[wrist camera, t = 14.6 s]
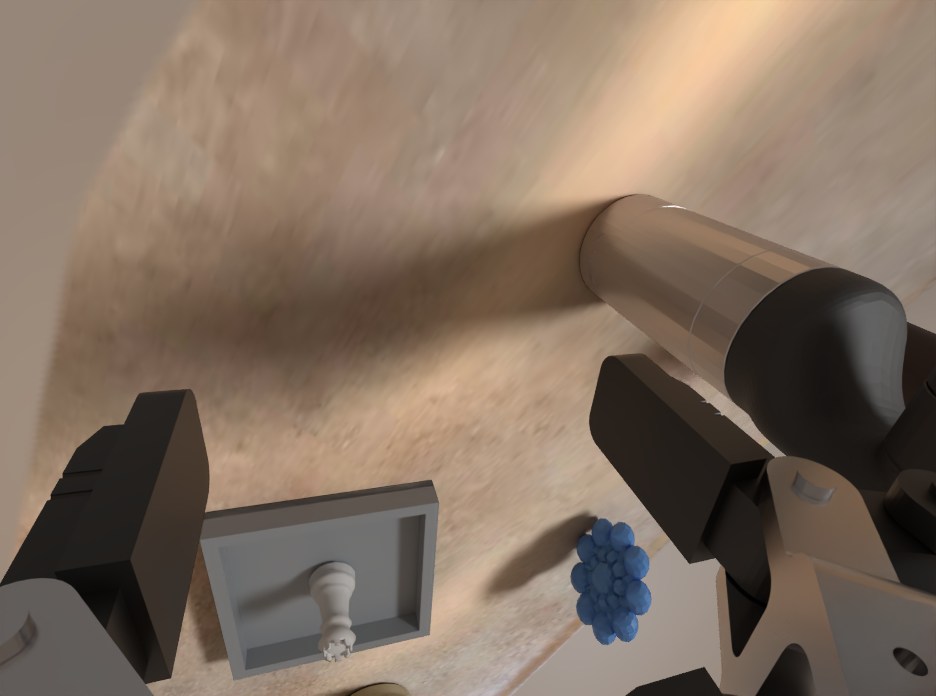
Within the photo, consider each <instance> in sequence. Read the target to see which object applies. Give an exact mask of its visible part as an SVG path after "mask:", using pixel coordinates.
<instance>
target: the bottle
mask: <svg viewBox="0 0 936 696" xmlns="http://www.w3.org/2000/svg"><path fill="white" fill-rule="evenodd" d="M935 366H936V334H934V333H932V332H930V331H927V330H925V329H923V328H920V327H918V326H916V325H913V324H911V323H909V322H907V341H906V346H905V353H904V361H903V370H902V393H903V400H904V405H905V408H906V407H907V405H908V404H909V402H910V401H911V400H912V398H913V397H914V395H915V394H916V392H917V391H918V390H919V388H920V387H921V385H922V384H923V382H924V381H925V380H926V379H927V377H928V375H929V374H930V373H931V371H932V370H933V369H934V367H935Z"/></svg>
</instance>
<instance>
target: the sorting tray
mask: <svg viewBox="0 0 936 696" xmlns="http://www.w3.org/2000/svg"><path fill="white" fill-rule="evenodd" d="M438 510H439V501H438V498H437V495H436V491H435V488H434V485H433V482H432V480H429V481H422V482H415V483H408V484H401V485H394V486H387V487H380V488H373V489H366V490H359V491H352V492H345V493H338V494H331V495H325V496H318V497H311V498H304V499H297V500H290V501H283V502H276V503H269V504H262V505H255V506H248V507H241V508H234V509H227V510H220V511H213V512H207V513H205V516H204V521H203V526H202V531H201V536H200V543H201V548H202V552H203V556H204V560H205V564H206V568H207V572H208V576H209V581H210V585H211V589H212V593H213V597H214V601H215V605H216V609H217V614H218V618H219V622H220V626H221V630H222V634H223V638H224V642H225V647H226V651H227V655H228V659H229V663H230V667H231V671H232V675H233V680H238V679H242V678H247V677H251V676H255V675H259V674H264V673H268V672H272V671H277V670H281V669H285V668H290V667H294V666H298V665H302V664H307V663H311V662H315V661H320V660H324V659H325V657H323V653H322V652H321V651H320V650H319V649H318V643H319V641H320V639H321V637H322V636H323V634H322V633H321V632H320V626H321V624H322V618H321V613H320V609H319V606H318V605H317V604H316V602H315V600H314V599H313V598H312V596H311V594H310V586H309V579H310V577H311V575H312V573H313V572H314V571H315V570H316V569H317V568H318V567H320V566H321V565H323V564H325V563H328V562H333V561H339V562H344V563H346V564H348V565H350V566H351V567H352V568H353V570H354V571H355V589H354V591H353V592H352V596H351V598H350V600H349V612H348V614H349V618H350V620H351V621H352V625H351V627H350V630H351V631H352V632H353V633H354V634H355V635H356V640H355V642H354V644H353V645H352V651H350V653H354V652H358V651H363V650H367V649H371V648H375V647H380V646H384V645H388V644H393V643H397V642H401V641H406V640H410V639H414V638H418V637H423V636H427V635H430V623H431V609H432V595H433V580H434V566H435V552H436V538H437V524H438ZM342 655H344V654H342ZM331 658H333V657H331Z"/></svg>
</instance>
